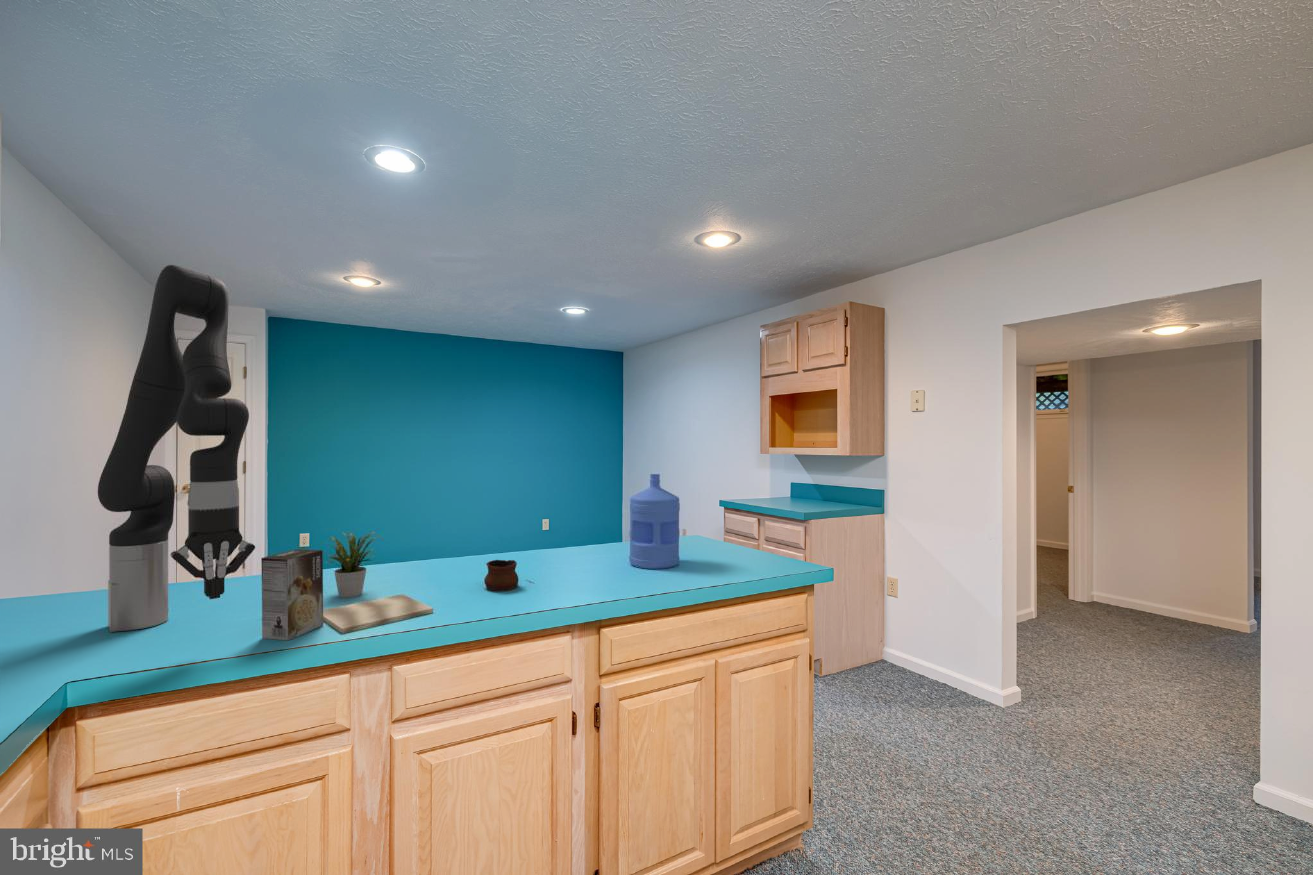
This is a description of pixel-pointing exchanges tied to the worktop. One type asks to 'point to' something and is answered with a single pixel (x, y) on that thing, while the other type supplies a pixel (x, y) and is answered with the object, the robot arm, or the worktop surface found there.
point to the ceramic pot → (501, 575)
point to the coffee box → (292, 593)
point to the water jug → (654, 527)
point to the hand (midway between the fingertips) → (214, 597)
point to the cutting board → (374, 613)
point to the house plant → (350, 566)
